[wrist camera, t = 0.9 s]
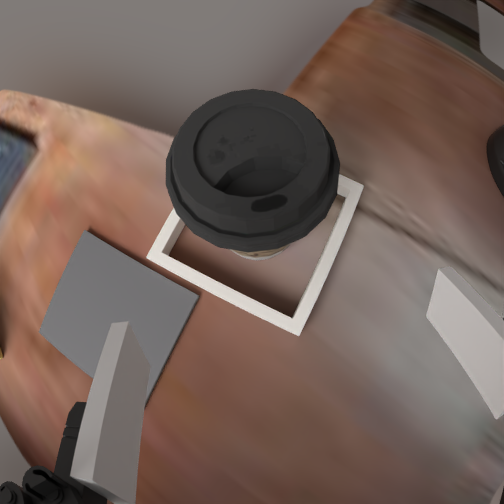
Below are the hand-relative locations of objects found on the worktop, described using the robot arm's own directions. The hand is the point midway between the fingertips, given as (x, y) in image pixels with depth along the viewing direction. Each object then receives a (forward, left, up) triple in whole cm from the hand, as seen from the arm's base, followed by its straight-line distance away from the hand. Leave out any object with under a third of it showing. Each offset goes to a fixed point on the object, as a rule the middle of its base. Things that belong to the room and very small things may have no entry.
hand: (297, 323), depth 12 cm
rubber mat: (+16, +8, -18) cm, 25 cm away
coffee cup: (+6, -8, -18) cm, 20 cm away
